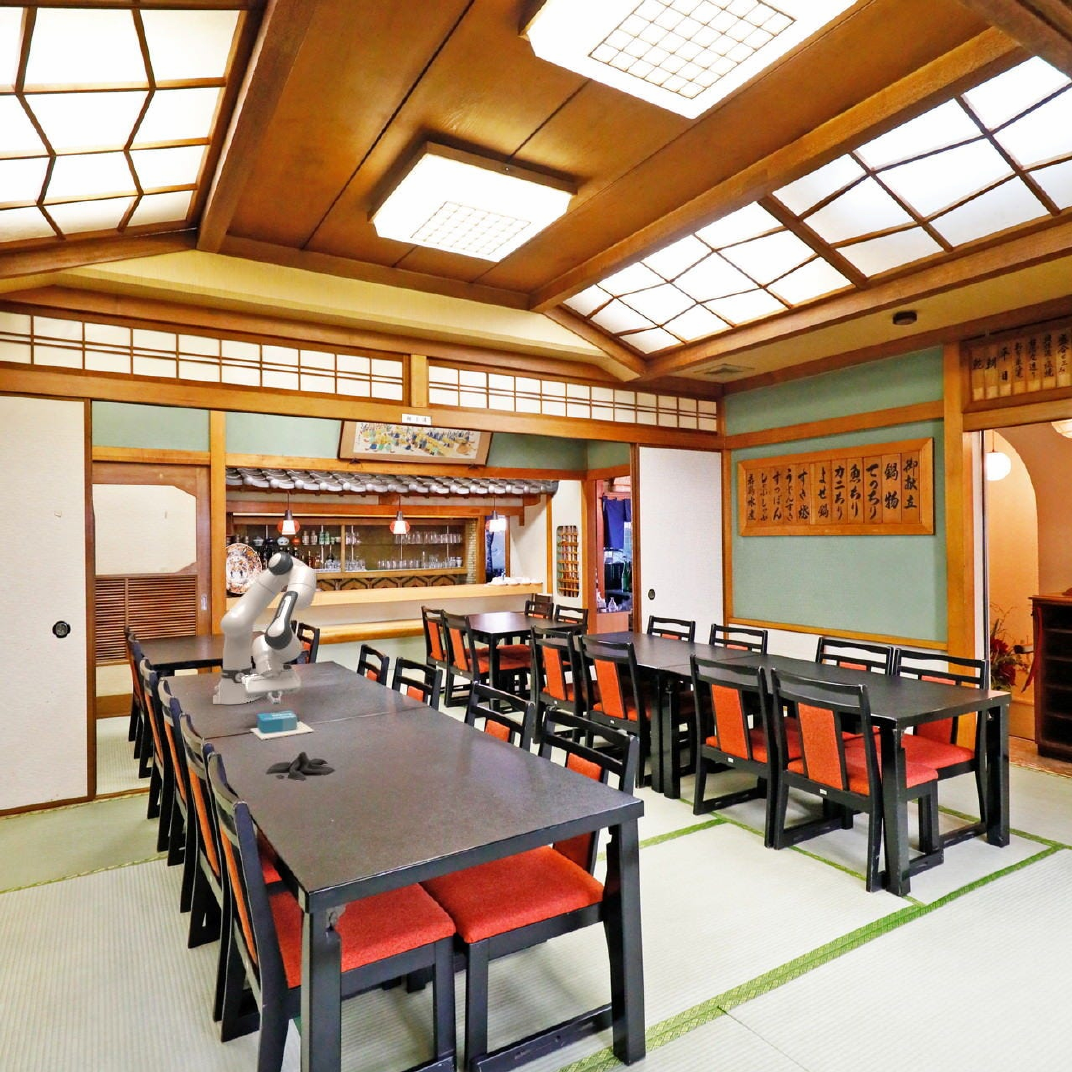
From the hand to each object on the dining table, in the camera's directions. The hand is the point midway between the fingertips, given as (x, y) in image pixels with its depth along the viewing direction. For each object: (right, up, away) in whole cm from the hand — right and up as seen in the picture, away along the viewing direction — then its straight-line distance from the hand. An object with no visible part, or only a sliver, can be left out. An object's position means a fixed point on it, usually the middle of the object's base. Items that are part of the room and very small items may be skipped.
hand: (276, 703), depth 255 cm
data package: (-1, -6, +1) cm, 6 cm away
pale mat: (+5, -8, -7) cm, 12 cm away
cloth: (+27, -8, -52) cm, 59 cm away
